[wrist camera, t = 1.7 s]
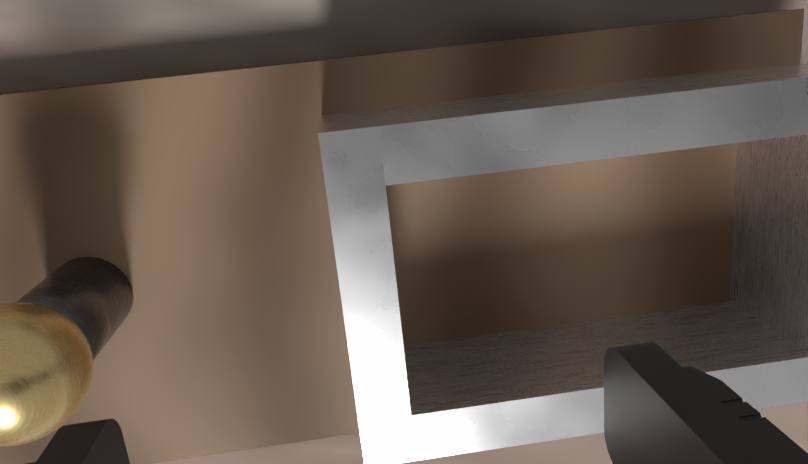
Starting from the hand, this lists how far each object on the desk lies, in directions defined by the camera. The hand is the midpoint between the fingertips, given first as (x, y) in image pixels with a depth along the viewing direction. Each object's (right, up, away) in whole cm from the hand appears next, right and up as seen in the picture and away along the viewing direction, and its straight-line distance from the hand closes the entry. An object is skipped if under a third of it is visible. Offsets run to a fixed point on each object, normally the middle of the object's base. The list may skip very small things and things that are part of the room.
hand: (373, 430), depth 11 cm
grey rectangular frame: (+6, +3, +10) cm, 12 cm away
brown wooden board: (-3, +2, +10) cm, 11 cm away
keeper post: (-9, +1, +9) cm, 12 cm away
